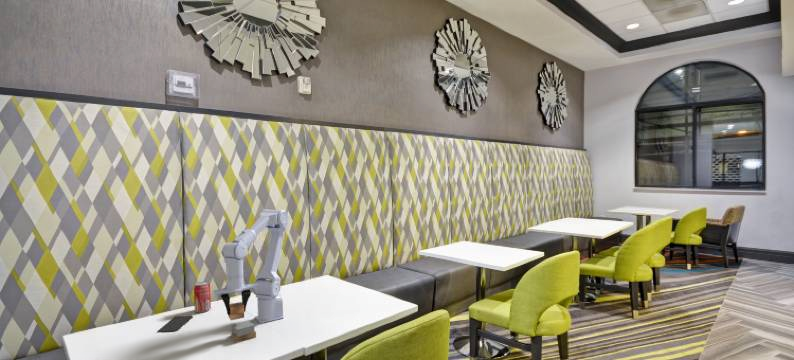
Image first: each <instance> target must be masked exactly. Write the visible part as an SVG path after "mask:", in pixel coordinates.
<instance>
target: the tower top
mask: <svg viewBox="0 0 794 360" xmlns="http://www.w3.org/2000/svg"><path fill="white" fill-rule="evenodd" d="M231 330H232V332H233V333H234V334H235V335H236V336H237V337H239V336H242V335H245V334H249V333H252V332H254V330H255V324H254V323H252V322H251V321H249V320H244V321H240V322H237V323H232V324H231Z"/></svg>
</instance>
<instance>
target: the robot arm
mask: <svg viewBox="0 0 794 360" xmlns="http://www.w3.org/2000/svg"><path fill="white" fill-rule="evenodd" d="M289 221H290V217H289V215H288V212H287V211H286V209H266V208H265V209H263V210H262V212H260V213H259V217H258V219H256V221H254V223H253V225H251V227H250V228H246V229H242V230H241V232H240V233H238V235H237V236H236V237H234V239H233V240H232V241H230V242H227V243H225V244H224V245H223V247H222V251H221V252H220V253H221V256H222V257H223V261H224V263H225V269H226V270H225V273H226V274H225V276H226V287H223V288H219V289H214V290H212V296H213V297H214V298H218V297H221V300H222V302H223V303H224V306H225V309H226V314H227V316H228V315H230V304H231V303H230V302H231V301H230V300H231V297H230V295H233V294H236V293H237V294H238V293H241V295H240V296H241V302H242V304H243V305H244V313H245V312H246V309H247V306H248V305H247V304H248V302H249V298H251V295H252V294H253V295H255V298H257V315H255V316H254V318H255V319H256V321H257V322H258V323H259V324H263V323H268V322H272V321H276V320H280V319H284V317H285V316H284V302H283V296H282V294H280V291H281V289H282V288H281V280H282V279H281V277H280V276H279V275H278V273H277V272H278V271H277V270H278V267H279V262H280V257H281V253H282V249H283V245H284V244H283V243H284V240H285V234H286V231H287V228H288V223H289ZM265 228H266V229H267V230H268V231H270V238H269V243H268V247H267V250H266V251H267V253H266V256H265V261H264V264H263V268H262V271H261V272H259V273H258V274H257V275H256V277H255V280H254V282H253V283H247V284H244V283H245V281H244V278H245V277H244V258H245V257H246V254H247V252H248V250H249V247H251V246H252V245H253V244H254V242H255V241H257V235H259V234H260V233H261V232H262V231H263V230H265Z"/></svg>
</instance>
